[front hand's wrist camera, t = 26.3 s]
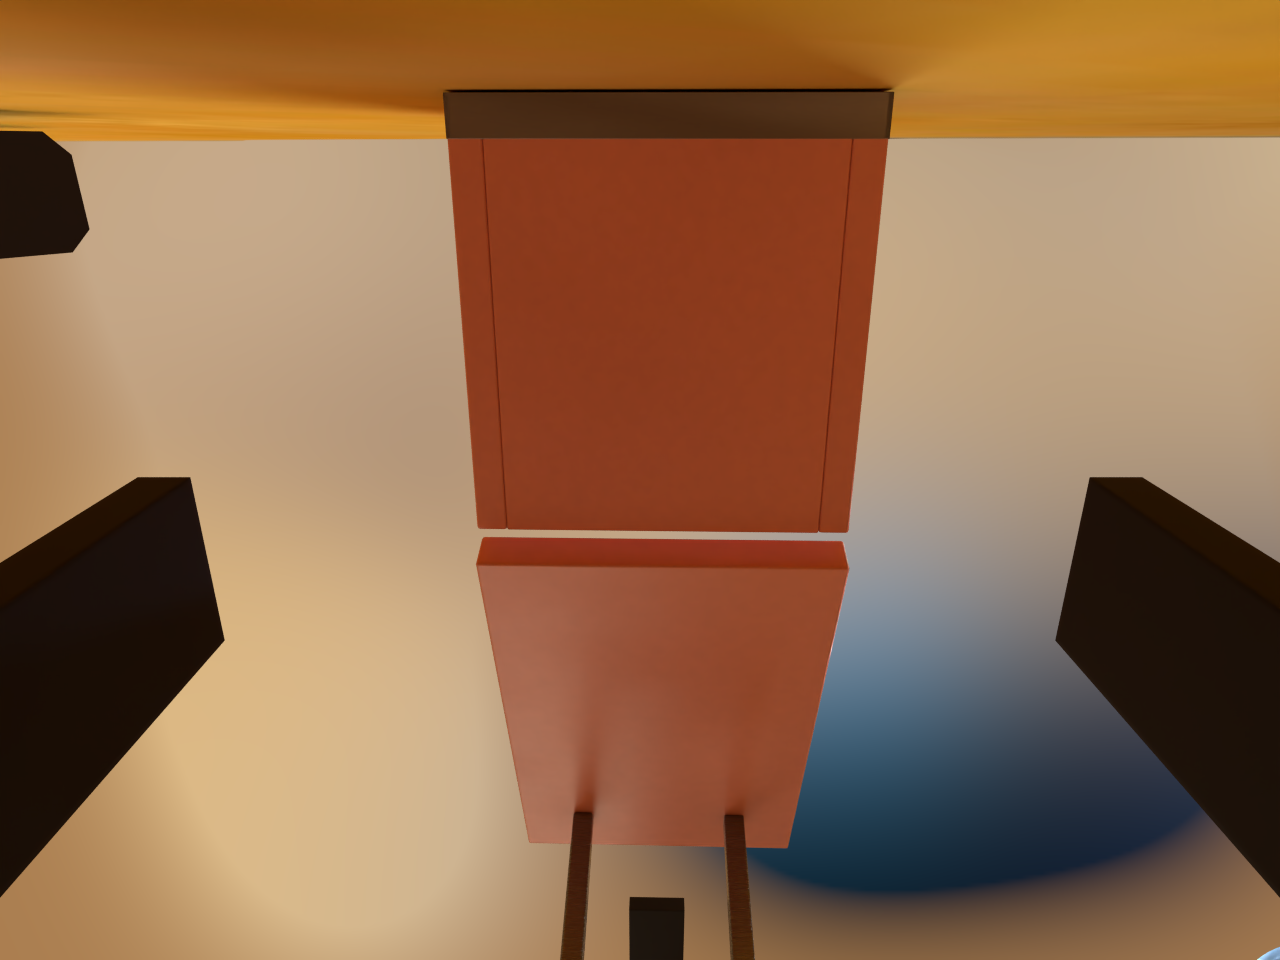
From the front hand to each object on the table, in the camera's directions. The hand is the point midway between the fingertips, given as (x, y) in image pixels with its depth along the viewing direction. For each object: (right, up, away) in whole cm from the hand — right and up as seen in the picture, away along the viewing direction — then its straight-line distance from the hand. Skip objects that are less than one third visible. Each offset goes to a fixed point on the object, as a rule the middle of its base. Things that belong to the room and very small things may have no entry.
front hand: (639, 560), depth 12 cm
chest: (+1, +12, +12) cm, 17 cm away
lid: (+1, -6, +15) cm, 16 cm away
